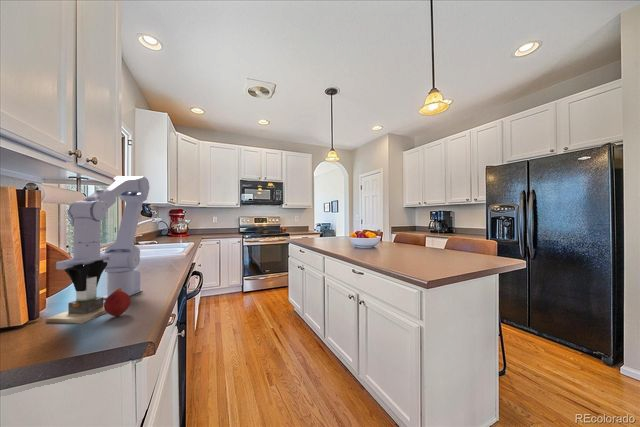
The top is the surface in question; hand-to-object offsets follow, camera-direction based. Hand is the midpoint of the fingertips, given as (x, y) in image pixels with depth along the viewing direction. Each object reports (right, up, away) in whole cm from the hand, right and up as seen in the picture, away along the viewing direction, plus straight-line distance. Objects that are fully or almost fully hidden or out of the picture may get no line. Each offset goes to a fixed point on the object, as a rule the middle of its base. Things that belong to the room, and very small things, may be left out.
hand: (86, 289), depth 72 cm
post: (0, -3, 0) cm, 3 cm away
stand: (0, -7, 0) cm, 7 cm away
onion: (+10, -7, -2) cm, 13 cm away
